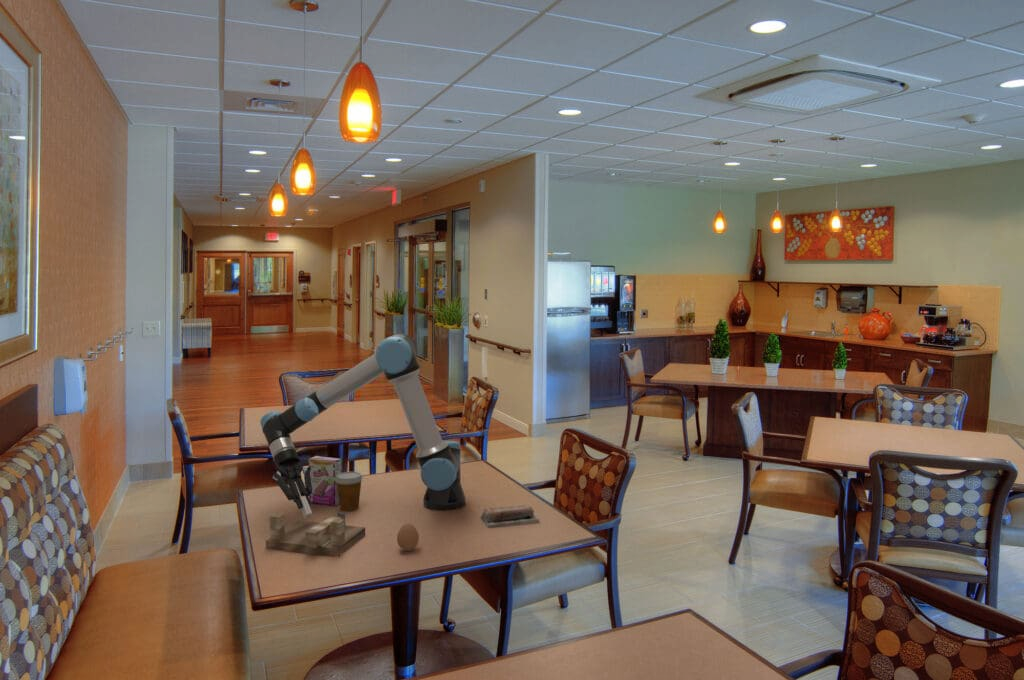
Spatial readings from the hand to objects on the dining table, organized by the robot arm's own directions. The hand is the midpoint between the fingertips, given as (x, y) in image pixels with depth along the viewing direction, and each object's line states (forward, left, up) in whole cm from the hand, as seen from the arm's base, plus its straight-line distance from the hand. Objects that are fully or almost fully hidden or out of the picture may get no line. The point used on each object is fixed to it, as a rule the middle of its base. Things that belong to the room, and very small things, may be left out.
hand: (308, 515), depth 225 cm
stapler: (-58, -29, -7) cm, 66 cm away
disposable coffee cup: (-1, -26, -6) cm, 27 cm away
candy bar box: (+10, -29, -6) cm, 32 cm away
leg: (-10, +8, -3) cm, 14 cm away
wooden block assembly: (-6, +5, -6) cm, 9 cm away
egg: (-36, +4, -6) cm, 36 cm away
